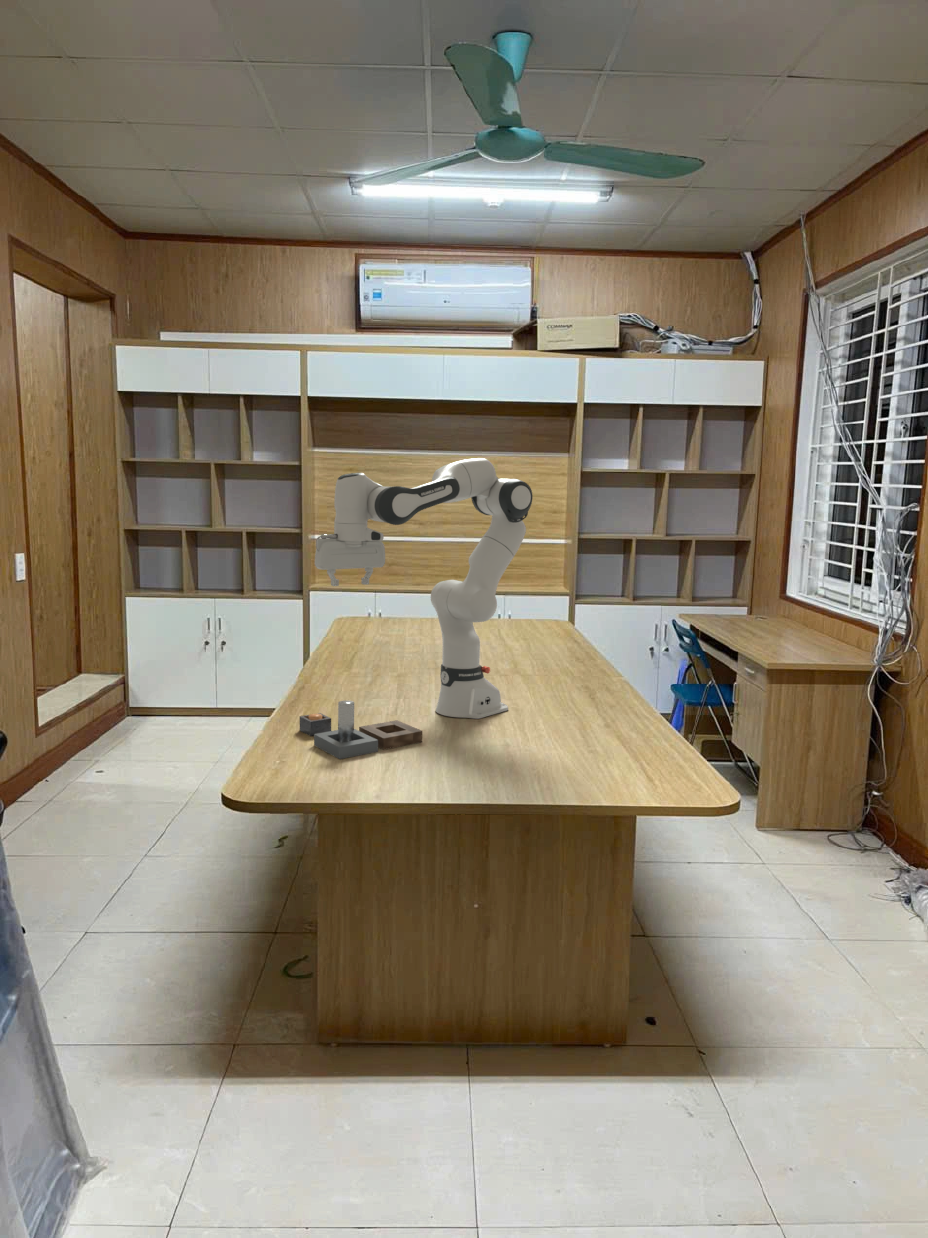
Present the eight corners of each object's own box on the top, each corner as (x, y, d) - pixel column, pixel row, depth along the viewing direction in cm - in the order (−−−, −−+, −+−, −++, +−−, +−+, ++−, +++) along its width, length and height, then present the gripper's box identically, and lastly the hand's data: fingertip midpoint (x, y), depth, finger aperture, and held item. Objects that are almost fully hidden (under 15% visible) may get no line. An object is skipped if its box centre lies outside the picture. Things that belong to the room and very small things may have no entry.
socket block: (396, 730, 231) (397, 720, 231) (422, 741, 222) (422, 730, 221) (359, 737, 224) (359, 726, 223) (383, 749, 214) (383, 738, 214)
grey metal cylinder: (348, 745, 217) (349, 699, 215) (356, 749, 214) (357, 703, 212) (335, 747, 215) (335, 701, 213) (342, 751, 212) (343, 705, 210)
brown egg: (318, 725, 230) (318, 712, 230) (324, 728, 227) (324, 716, 227) (306, 727, 228) (306, 714, 227) (312, 730, 225) (312, 717, 225)
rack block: (351, 738, 223) (351, 727, 222) (377, 751, 213) (378, 740, 212) (314, 745, 216) (314, 734, 216) (339, 759, 206) (339, 747, 206)
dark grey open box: (320, 727, 232) (320, 712, 232) (331, 732, 227) (331, 718, 227) (299, 730, 228) (299, 716, 228) (310, 736, 224) (310, 721, 223)
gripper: (321, 535, 218) (321, 588, 220) (388, 534, 231) (387, 584, 233) (310, 533, 223) (310, 585, 225) (376, 532, 236) (375, 582, 238)
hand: (350, 585), depth 229 cm, fingers open, 8 cm apart
